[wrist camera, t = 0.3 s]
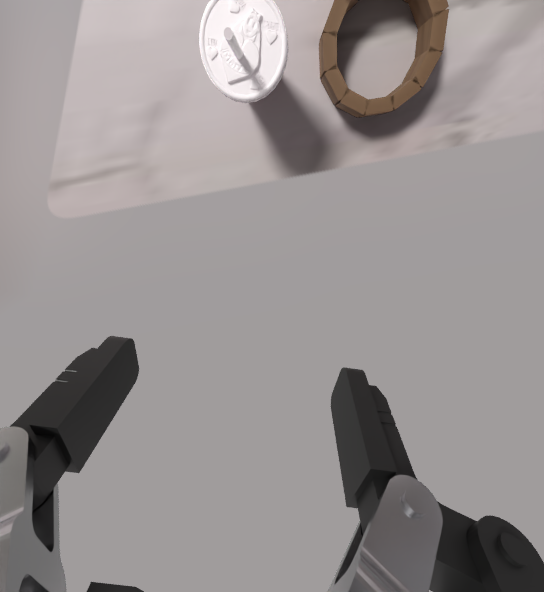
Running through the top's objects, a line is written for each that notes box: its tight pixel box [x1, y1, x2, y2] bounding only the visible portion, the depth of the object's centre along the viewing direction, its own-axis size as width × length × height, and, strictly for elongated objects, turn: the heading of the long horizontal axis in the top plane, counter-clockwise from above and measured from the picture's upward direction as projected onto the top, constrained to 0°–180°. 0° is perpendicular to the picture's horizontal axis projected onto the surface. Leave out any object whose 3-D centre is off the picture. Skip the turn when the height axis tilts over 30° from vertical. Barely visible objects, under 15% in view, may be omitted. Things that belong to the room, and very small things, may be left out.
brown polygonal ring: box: [319, 0, 449, 118], centre depth 25 cm, size 10×10×3 cm
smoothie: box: [199, 0, 288, 103], centre depth 21 cm, size 6×6×14 cm
